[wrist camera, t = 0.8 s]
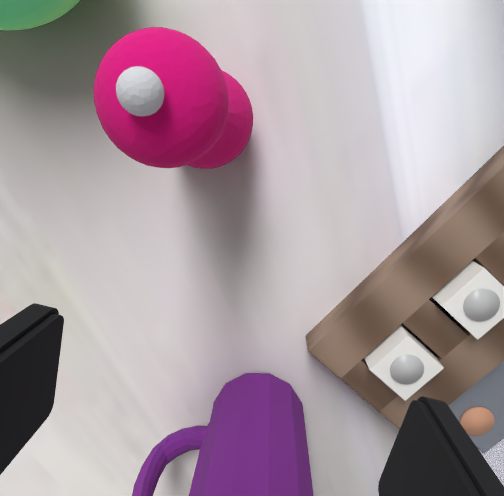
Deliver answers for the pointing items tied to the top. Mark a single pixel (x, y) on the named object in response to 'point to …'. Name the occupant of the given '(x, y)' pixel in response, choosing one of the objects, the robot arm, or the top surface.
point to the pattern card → (483, 409)
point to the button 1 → (403, 362)
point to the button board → (423, 300)
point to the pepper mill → (170, 101)
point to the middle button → (473, 299)
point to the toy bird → (31, 12)
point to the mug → (242, 444)
